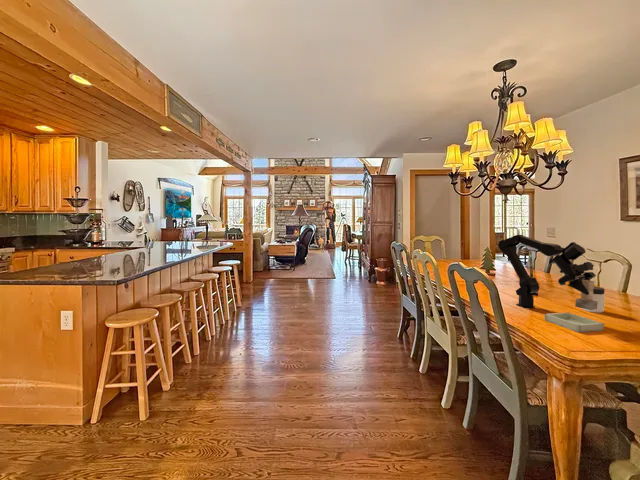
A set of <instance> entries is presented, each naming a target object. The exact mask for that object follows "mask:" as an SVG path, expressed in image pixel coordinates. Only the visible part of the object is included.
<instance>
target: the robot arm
mask: <svg viewBox="0 0 640 480" xmlns="http://www.w3.org/2000/svg"><path fill="white" fill-rule="evenodd" d="M520 244H522V245H525V246H527V247H530V248H533V249H536V250H538V252H540V253H541V254H543V255H544V256H547V257H550V258H549V262H548V264H549V265H552V264H555V265H556V266H557V267H558V269H559V273H560V274H563V276H561V277H560V278H558V279H557V283H558V284H559V285H560V286H566V283H567V282H568V284H567V287H570V288H573V289H575V290H576V291H579V292H582V293H584V294H586V295H588V294H589V292H588V291H587V289H586V288H585V286H584V285H583V284H582V281H583V280H590V281H591V280H593V278H595V277H596V276H597V275H596V274H595V273H594V272H593V270H594V267H595V266H594V264H593V262H591V261H586V262H585V261H584V262H583V263H581V264H576V263H573V262H572V261H576V260H578V259H579V258H580V257H581V256H583V255H584V254H586V252H587V251H586V249H585V248H584V247H583V246H581V245H579V244H577V242H576V241H575V242H574V241H573V242H570V243H569V244H568V245H567V246H565V247H562V246H561V245H560V244H556V243H552V242H551V243H550V242H542V241H540V240H537V239H535V238H531V237H528V236H525V235H523V234H515V235H513V236H510V237H508V238H505V239H502V240H499V242H498V243H497V247H498V249H499V250H500V251H501V253H502V254H504V255H506V256H507V258H508V260H509V262H510V264H511V265H512V268H513V269H514V272H515V273H516V276H517V277H518V278H519V279H518V280H519V281H518V283H519V288H518V289H516V290H515V293H516V296H518V303H515V305H516V306H519V307H522V308H525V309H528V308H529V309H530V308H536V305H534V301H535V299H534V296H536V295H537V294H538V292H539V290H540V283H539V282H538V280H537V278H536V277H535V276H534V277H532V276H530V274H529V272H527V269H526V268H525V266H524V264H523V262H522V259H521V258H520V257H519V255H518V253H517V246H519V245H520ZM551 257H552V258H551ZM571 260H572V261H571ZM593 294H594V292H593Z"/></svg>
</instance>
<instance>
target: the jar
mask: <svg viewBox="0 0 640 480" xmlns="http://www.w3.org/2000/svg"><path fill="white" fill-rule="evenodd" d="M605 291H606V290H605V288H604V287H601V286H594V289H593V292H594V294H593V301H598V304H597V309H594V310H587V309H583V308H581V309H582V310H583V311H585V312H589V313H597V314H602V313H604V311H605V302H606V300H605V299H606V297H605V296H606V293H605Z"/></svg>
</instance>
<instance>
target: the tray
mask: <svg viewBox="0 0 640 480" xmlns="http://www.w3.org/2000/svg"><path fill="white" fill-rule="evenodd" d="M544 321H545V322H549V323H552V324H554V325H556V326H559V327H563V328H565V329H568V330H570V331H573V332H576V333H588V332H591V333H592V332H602V331H604V330H605V323H604V322H600V321H597V320H594V319H592V318H591V319H590V318H587V317H583V316H582V315H581V316H580V315H577V314H574V313H571V312H556V313H555V312H554V313H553V312H552V313H545V314H544Z"/></svg>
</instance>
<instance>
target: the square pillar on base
mask: <svg viewBox="0 0 640 480" xmlns="http://www.w3.org/2000/svg"><path fill="white" fill-rule="evenodd" d="M582 284H583V285H584V286H585V288H586V289H587V291H588V292H589V294H588V295H586V294H584V293H582V292H581V295H580V298H576V299H575V304H574V307H575V308H580V309H582V308H583V309H587V310H594V309H597V304H598V301H593V289H594V287H595V286H594V285H595V281H594V280H591V279H590V280H583V281H582ZM583 309H582V310H583Z"/></svg>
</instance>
